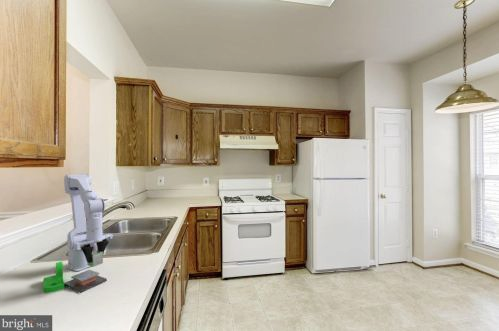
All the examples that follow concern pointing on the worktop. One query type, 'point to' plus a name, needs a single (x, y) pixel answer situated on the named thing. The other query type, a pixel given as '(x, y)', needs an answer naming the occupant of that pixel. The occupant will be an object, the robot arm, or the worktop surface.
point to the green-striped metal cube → (96, 258)
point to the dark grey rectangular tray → (85, 281)
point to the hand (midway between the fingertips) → (94, 260)
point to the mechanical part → (55, 280)
